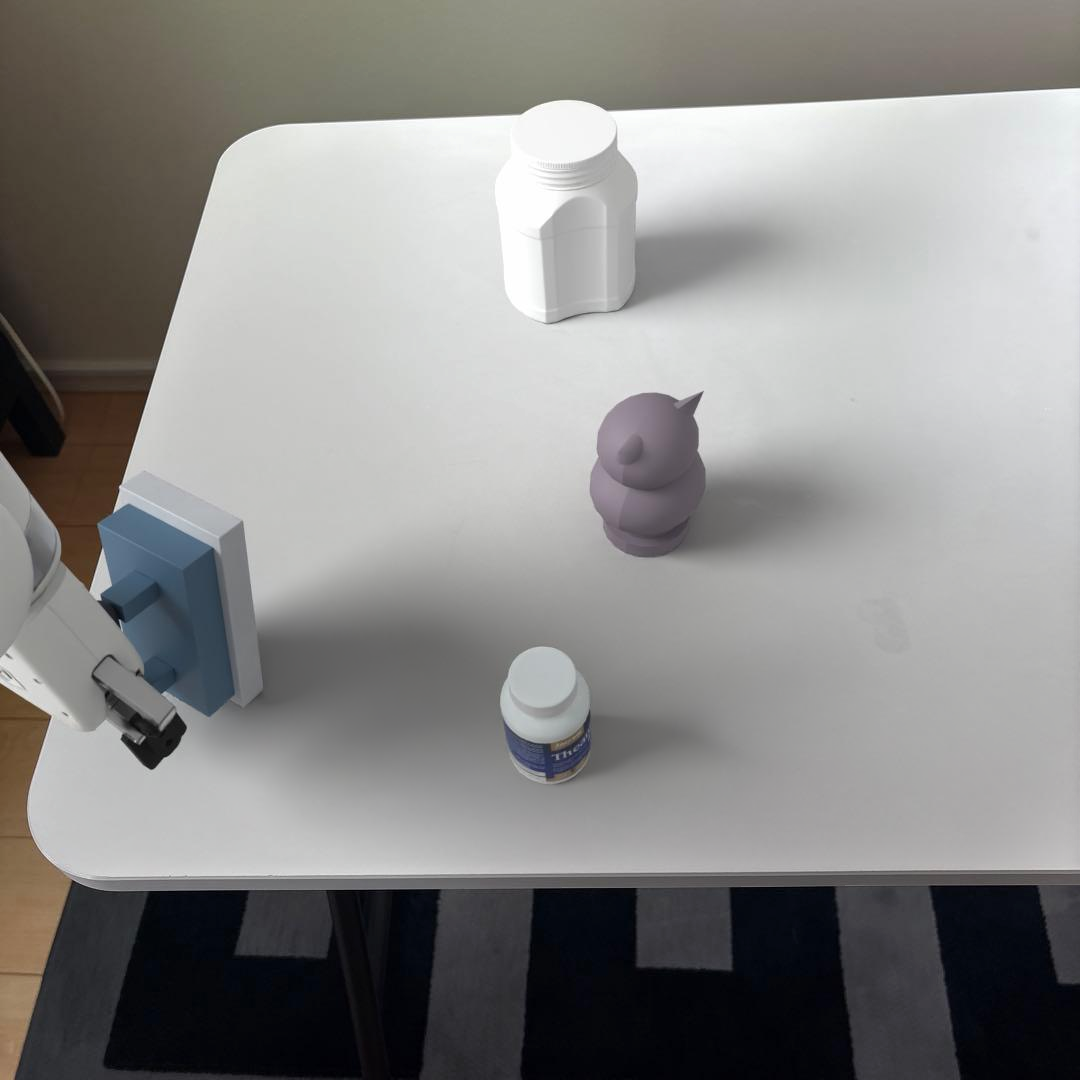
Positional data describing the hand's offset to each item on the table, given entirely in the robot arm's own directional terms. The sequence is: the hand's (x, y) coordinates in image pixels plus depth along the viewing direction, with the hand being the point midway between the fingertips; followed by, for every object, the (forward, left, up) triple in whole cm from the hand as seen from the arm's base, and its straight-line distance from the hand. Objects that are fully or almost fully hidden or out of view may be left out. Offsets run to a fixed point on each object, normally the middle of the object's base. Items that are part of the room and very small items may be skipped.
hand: (107, 711), depth 65 cm
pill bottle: (+14, -23, -7) cm, 27 cm away
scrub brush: (+10, 0, +1) cm, 10 cm away
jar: (+53, -2, -7) cm, 53 cm away
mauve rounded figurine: (+33, -20, -7) cm, 39 cm away
